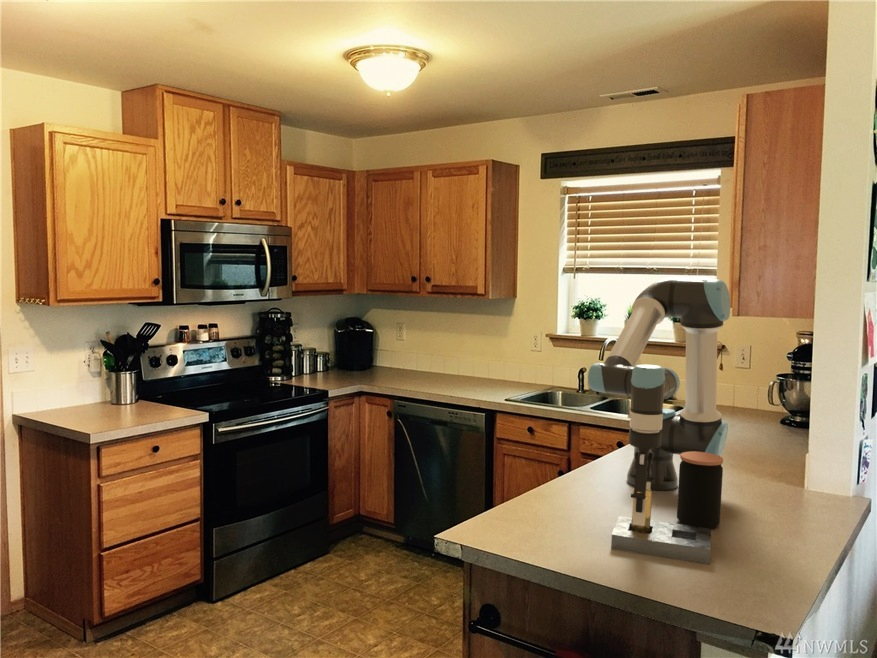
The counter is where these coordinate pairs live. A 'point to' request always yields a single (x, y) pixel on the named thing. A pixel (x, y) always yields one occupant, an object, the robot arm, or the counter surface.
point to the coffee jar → (700, 489)
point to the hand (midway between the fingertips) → (641, 515)
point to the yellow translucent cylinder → (647, 514)
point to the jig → (664, 540)
